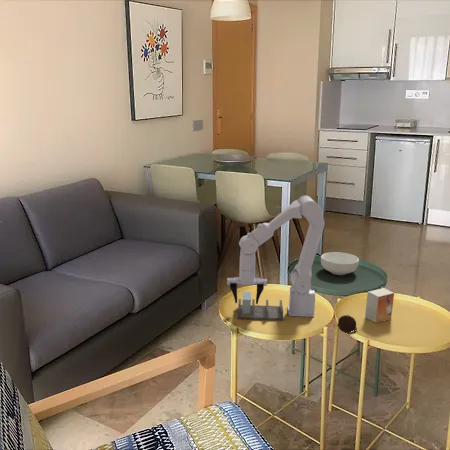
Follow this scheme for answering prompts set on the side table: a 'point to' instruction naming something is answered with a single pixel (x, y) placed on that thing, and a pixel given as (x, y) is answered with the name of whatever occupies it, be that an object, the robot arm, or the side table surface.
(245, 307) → the light grey rectangular block
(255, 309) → the rack
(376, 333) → the side table surface
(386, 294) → the small box
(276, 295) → the side table surface
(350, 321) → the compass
